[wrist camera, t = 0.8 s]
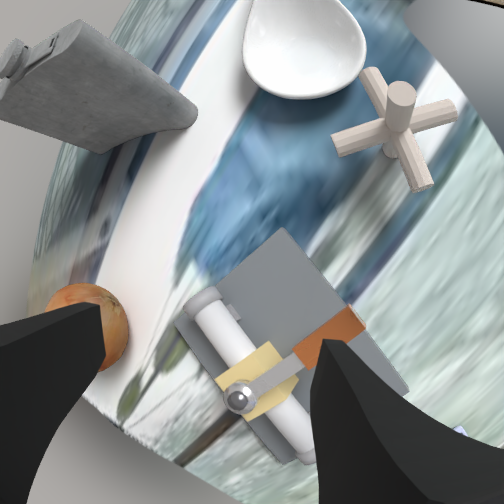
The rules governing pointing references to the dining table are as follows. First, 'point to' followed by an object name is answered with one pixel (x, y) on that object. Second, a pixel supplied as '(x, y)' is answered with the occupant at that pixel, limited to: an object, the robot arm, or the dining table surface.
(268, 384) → the valve lever
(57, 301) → the onion
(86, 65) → the hip flask
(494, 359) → the dining table surface
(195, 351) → the board
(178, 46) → the dining table surface
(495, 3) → the hardcover book
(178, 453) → the dining table surface
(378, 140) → the pipe connector
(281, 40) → the spoon rest
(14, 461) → the robot arm
